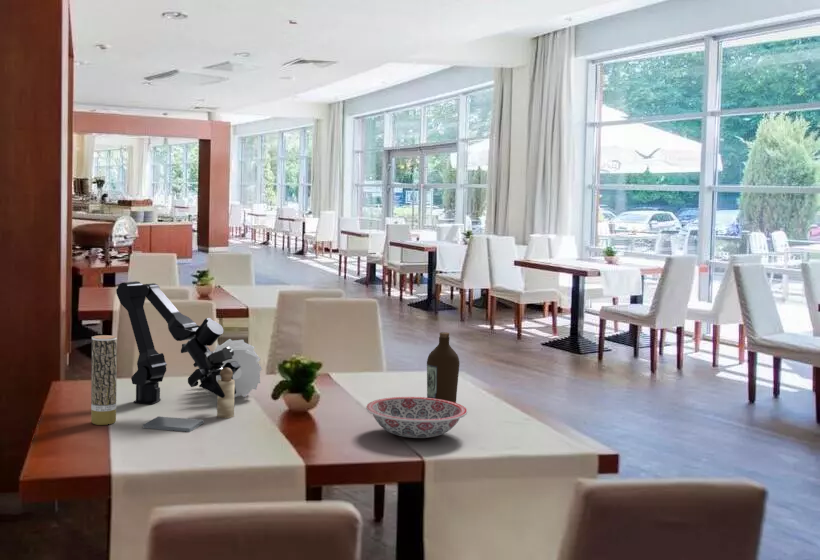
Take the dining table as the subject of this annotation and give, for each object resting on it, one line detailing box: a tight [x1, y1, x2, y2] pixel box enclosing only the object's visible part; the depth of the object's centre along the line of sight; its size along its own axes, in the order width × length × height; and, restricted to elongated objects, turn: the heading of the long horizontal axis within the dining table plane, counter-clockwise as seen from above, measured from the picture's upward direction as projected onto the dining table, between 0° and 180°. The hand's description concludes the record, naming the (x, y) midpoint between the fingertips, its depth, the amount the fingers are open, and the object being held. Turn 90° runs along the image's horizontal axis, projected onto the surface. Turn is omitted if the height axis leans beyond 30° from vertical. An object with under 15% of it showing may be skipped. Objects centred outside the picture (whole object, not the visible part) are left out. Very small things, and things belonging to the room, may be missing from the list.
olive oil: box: [426, 331, 460, 403], centre depth 290 cm, size 11×11×25 cm
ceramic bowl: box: [365, 396, 468, 439], centre depth 257 cm, size 29×29×8 cm
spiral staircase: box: [214, 338, 263, 398], centre depth 302 cm, size 18×18×25 cm
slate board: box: [142, 415, 204, 433], centre depth 257 cm, size 14×10×1 cm
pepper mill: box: [216, 367, 235, 419], centre depth 269 cm, size 5×5×15 cm
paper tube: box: [90, 334, 118, 426], centre depth 256 cm, size 7×7×25 cm
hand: (229, 395), depth 269 cm, fingers closed on pepper mill, 5 cm apart
